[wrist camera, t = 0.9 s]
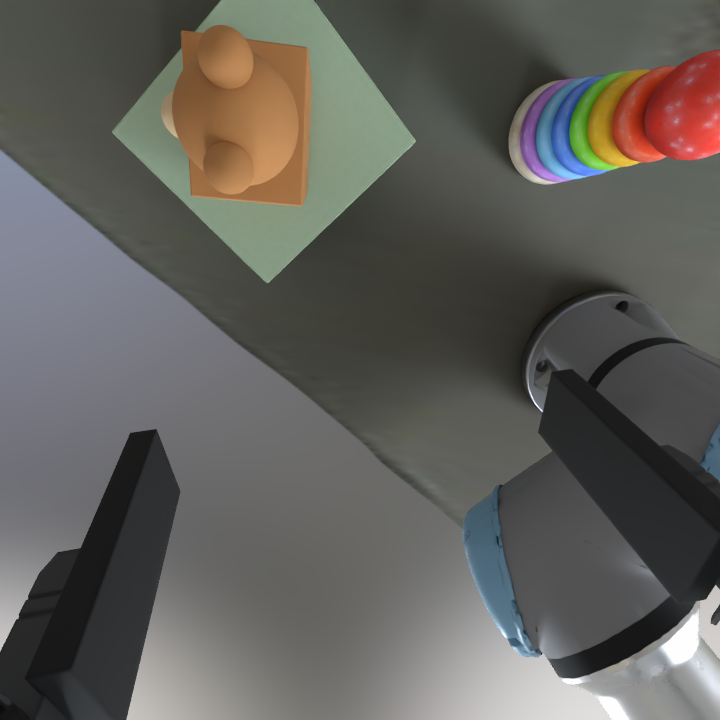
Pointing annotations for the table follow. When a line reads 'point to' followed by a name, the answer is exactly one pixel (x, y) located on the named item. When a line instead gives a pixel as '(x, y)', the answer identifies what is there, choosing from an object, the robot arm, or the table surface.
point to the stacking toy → (618, 121)
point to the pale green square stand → (326, 147)
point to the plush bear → (242, 117)
